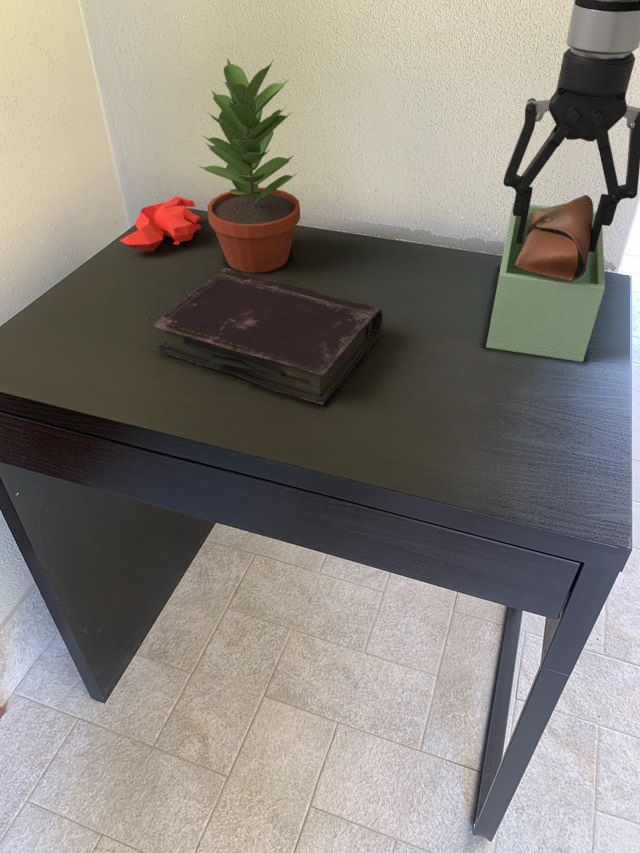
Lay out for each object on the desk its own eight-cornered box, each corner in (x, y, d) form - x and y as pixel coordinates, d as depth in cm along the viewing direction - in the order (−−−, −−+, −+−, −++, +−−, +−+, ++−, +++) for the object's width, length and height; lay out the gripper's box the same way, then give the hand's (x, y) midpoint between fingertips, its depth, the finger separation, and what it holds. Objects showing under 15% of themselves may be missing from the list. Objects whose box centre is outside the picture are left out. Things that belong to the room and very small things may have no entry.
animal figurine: (113, 256, 113) (106, 227, 110) (156, 219, 124) (151, 191, 121) (175, 266, 111) (171, 237, 107) (214, 227, 121) (211, 199, 118)
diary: (230, 293, 104) (227, 263, 101) (381, 334, 95) (383, 303, 92) (154, 357, 92) (148, 325, 88) (320, 411, 83) (320, 378, 79)
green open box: (582, 362, 90) (605, 288, 83) (485, 347, 93) (499, 274, 85) (583, 279, 106) (601, 211, 99) (500, 269, 109) (512, 202, 102)
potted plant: (216, 237, 118) (194, 42, 98) (303, 238, 118) (299, 43, 98) (201, 280, 107) (173, 70, 87) (298, 281, 106) (291, 71, 87)
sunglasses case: (528, 209, 97) (562, 171, 92) (566, 239, 98) (601, 203, 93) (512, 268, 84) (551, 228, 79) (556, 301, 85) (597, 264, 80)
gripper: (701, 47, 75) (639, 239, 90) (504, 37, 79) (476, 221, 94) (710, 65, 70) (642, 266, 84) (498, 52, 74) (470, 245, 89)
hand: (555, 242), depth 89 cm, fingers closed on sunglasses case, 8 cm apart
